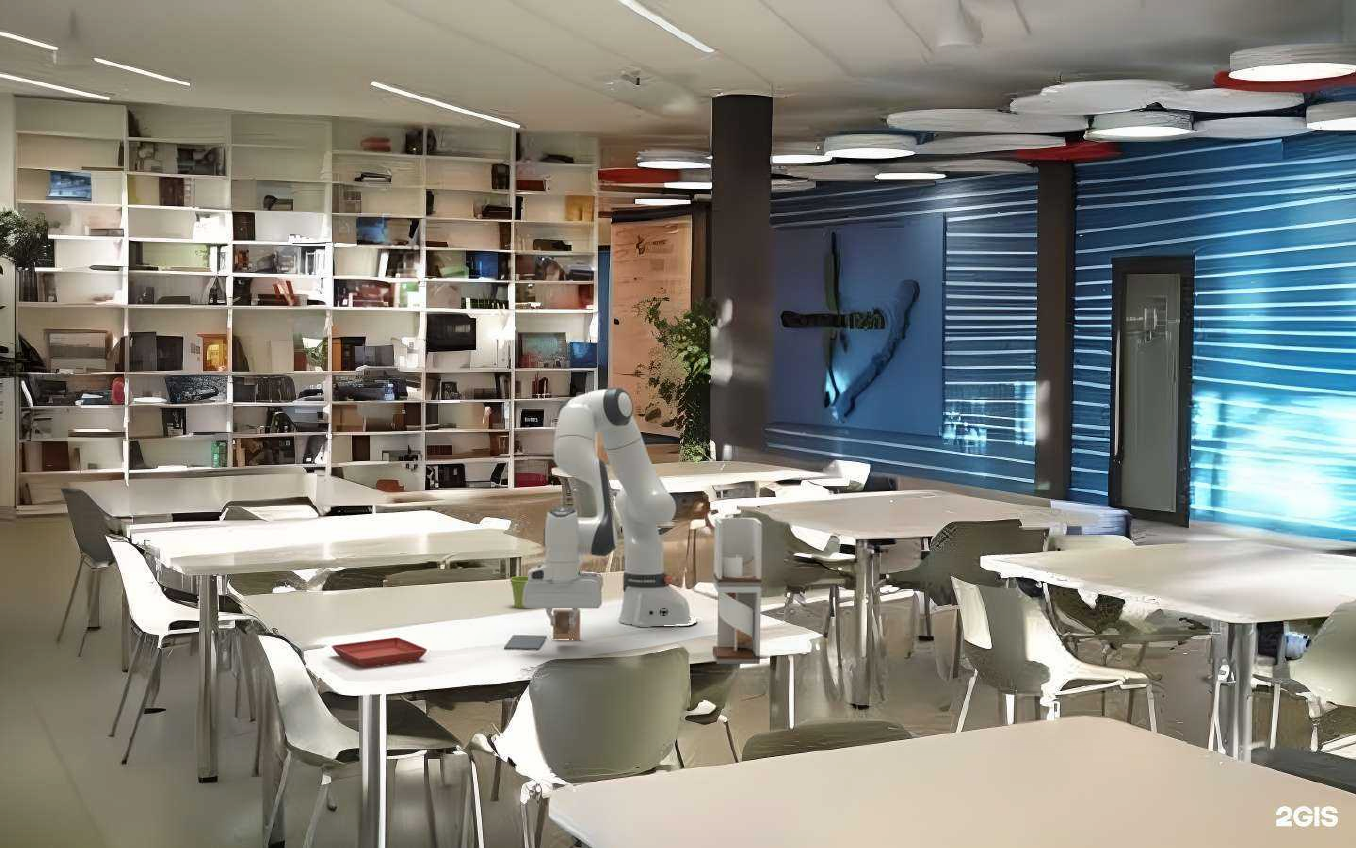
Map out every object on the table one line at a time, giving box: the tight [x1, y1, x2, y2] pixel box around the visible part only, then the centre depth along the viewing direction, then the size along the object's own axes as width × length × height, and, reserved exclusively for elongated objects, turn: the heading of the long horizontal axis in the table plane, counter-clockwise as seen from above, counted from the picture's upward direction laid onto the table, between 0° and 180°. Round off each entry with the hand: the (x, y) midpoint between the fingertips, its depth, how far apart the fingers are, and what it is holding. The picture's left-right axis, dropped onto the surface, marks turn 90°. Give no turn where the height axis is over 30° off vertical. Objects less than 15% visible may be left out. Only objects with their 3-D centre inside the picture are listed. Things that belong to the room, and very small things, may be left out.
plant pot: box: [509, 575, 529, 609], centre depth 416 cm, size 9×9×9 cm
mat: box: [503, 634, 548, 651], centre depth 361 cm, size 9×16×1 cm, turn 178°
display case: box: [712, 517, 763, 665], centre depth 345 cm, size 11×11×35 cm
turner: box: [554, 612, 576, 634], centre depth 355 cm, size 5×13×4 cm, turn 179°
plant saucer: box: [331, 637, 428, 668], centre depth 341 cm, size 18×18×3 cm
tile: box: [552, 608, 581, 641], centre depth 367 cm, size 7×2×8 cm, turn 88°
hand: (562, 625), depth 351 cm, fingers closed on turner, 3 cm apart
